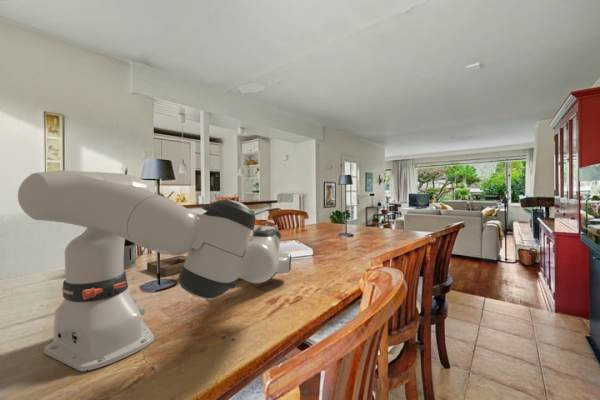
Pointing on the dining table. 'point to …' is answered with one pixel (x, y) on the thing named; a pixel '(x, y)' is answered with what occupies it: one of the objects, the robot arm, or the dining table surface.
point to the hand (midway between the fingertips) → (219, 259)
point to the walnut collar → (168, 265)
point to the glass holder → (130, 254)
